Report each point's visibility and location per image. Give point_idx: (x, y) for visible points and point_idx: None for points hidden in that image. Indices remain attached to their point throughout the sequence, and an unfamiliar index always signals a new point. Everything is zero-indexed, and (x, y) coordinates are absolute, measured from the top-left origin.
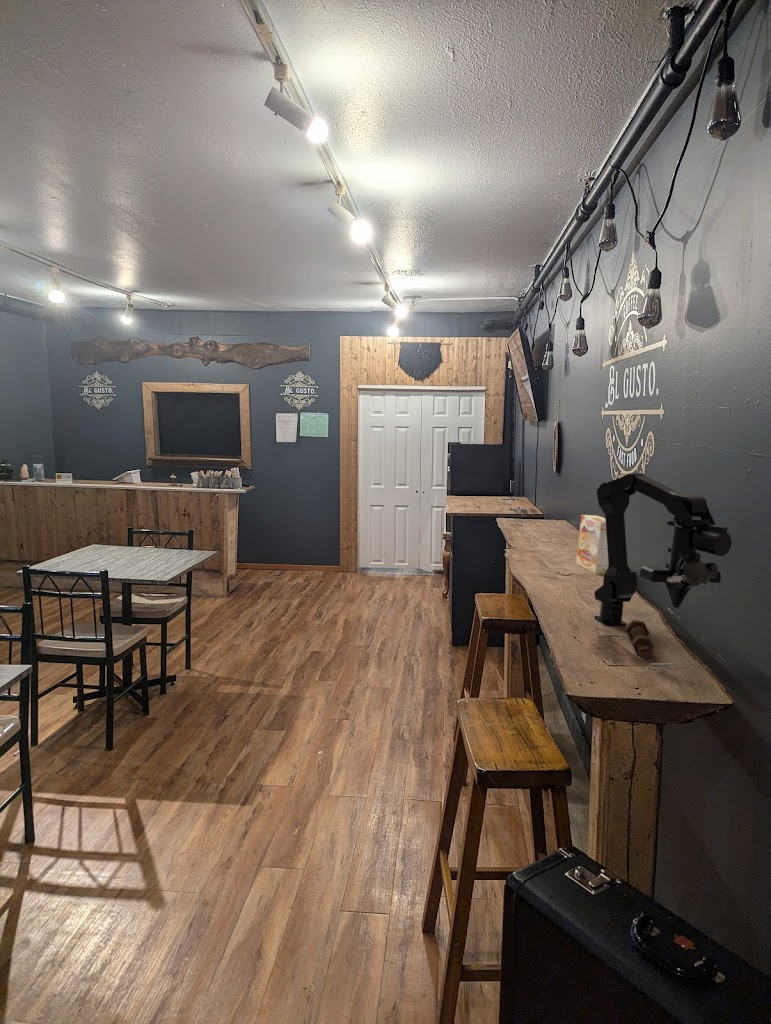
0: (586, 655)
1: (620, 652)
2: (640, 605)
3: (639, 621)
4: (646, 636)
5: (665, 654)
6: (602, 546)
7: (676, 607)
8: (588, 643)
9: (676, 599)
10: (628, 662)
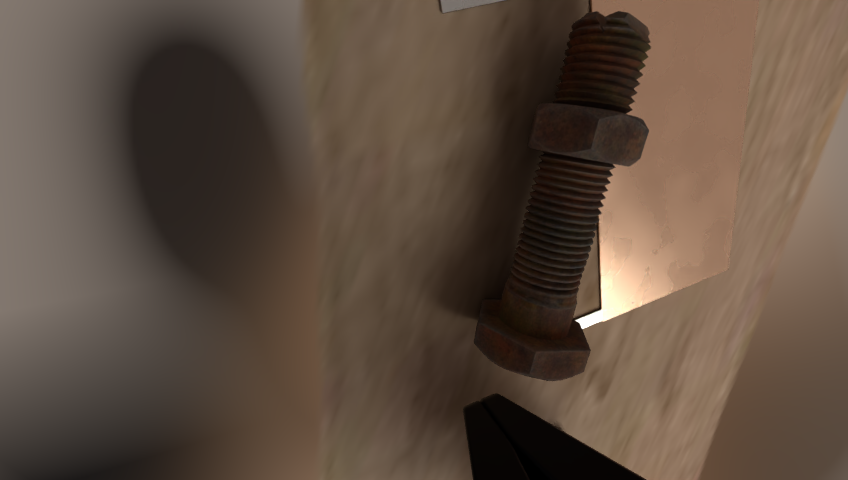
0: (781, 52)
1: (642, 118)
2: None
3: (553, 371)
4: (603, 149)
5: (429, 155)
6: None
7: (490, 397)
8: (714, 196)
9: (582, 453)
10: None
